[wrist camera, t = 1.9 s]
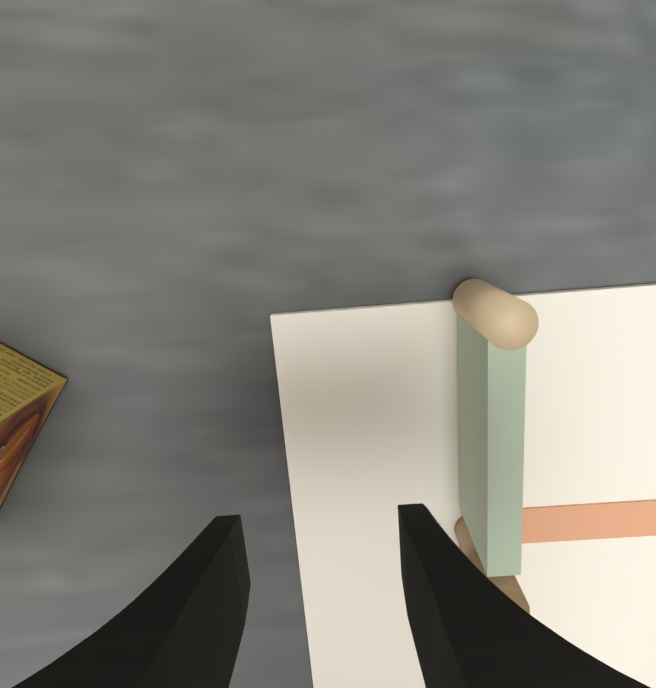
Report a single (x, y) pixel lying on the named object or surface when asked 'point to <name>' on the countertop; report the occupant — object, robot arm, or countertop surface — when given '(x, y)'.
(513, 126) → the countertop surface
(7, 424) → the candy box
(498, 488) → the green and tan bar
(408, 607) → the robot arm
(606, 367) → the card
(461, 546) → the fixed fence
